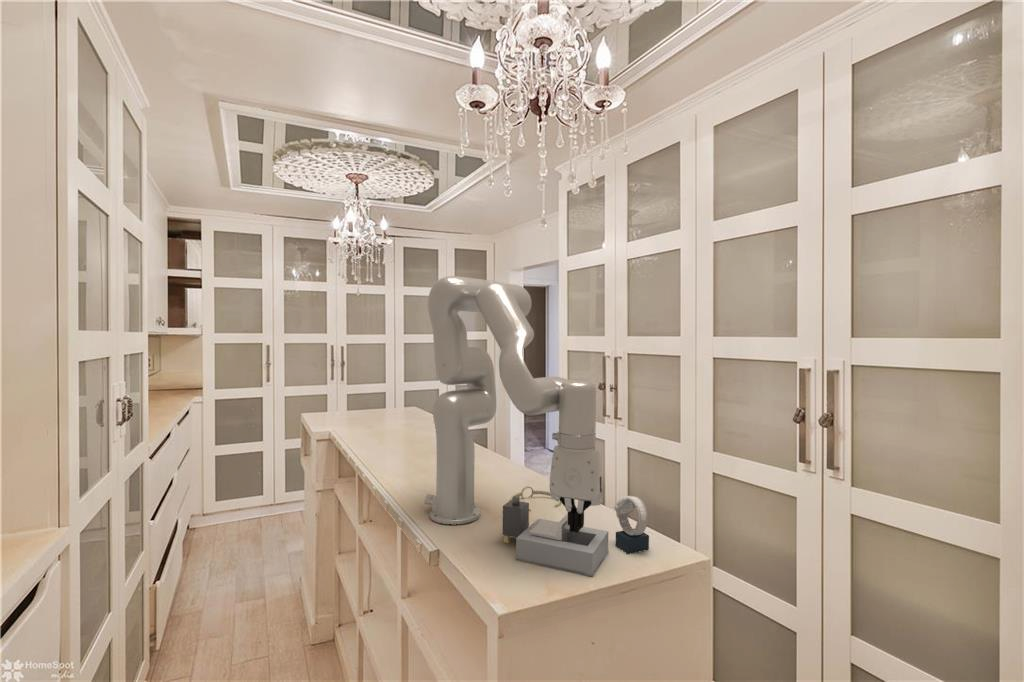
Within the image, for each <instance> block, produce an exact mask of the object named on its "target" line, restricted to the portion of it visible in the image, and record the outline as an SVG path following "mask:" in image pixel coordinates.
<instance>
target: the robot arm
mask: <svg viewBox="0 0 1024 682" xmlns="http://www.w3.org/2000/svg"><path fill="white" fill-rule="evenodd" d="M531 308H532V298H531V295H530V294H529V291H528V290H527V289H526V288H525V287H523V286H521V285H519V284H515V283H507V282H506V283H504V282H499V281H493V280H488V279H480V278H473V277H467V276H459V275H456V276H455V275H451V276H444V277H441V278H439V279H438V280H436V282H435V283H434V284H433V285H432V287H431V288H430V291H429V294H428V299H427V309H428V316H429V320H430V324H431V328H432V335H433V336H432V337H433V339H432V340H433V350H434V351H433V352H434V353H433V354H434V363H435V364H434V366H435V373H436V376H437V379H438V381H439V382H440V383H441V384H443V385H447V386H456V385H457V386H458V385H466V388H467V389H465V388H464V389H456V390H449V391H446V392H443V393H441V394H440V395H438V396H437V397H436V399H434V402H433V405H432V418H433V423H434V429H435V436H436V438H435V440H436V444H435V445H436V474H435V475H436V478H435V479H436V480H435V482H436V486H435V487H436V489H435V491H436V494H431V493H427V494H426V496H425V499H424V504H425V505H428V506H430V505H431V507H432V509H430V512H429V518H430V520H432V521H433V522H435V523H438V524H441V523H442V525H449V524H451V525H452V526H453V525H456V524H457V525H464V524H468V523H472V522H474V521H477V520H478V519H479V518H480V517H481V509H480V508H479V507H478V506H476V505H475V460H476V459H475V452H476V451H475V443H474V442H475V441H474V439H473V437H472V435H471V433H470V431H469V428H470V427H474V426H480V425H483V424H487V423H489V422H491V421H492V419H494V417H495V415H496V412H497V390H496V380H495V379H496V377H495V368H494V363H493V360H492V358H491V356H490V354H489V352H487V350H485V349H484V348H481V347H477V346H469V344H468V331H467V328H466V325H465V323H464V321H463V319H462V317H461V316H460V315H459V312H470V313H471V312H473V313H480V314H481V315H482V317H483V319H484V321H485V323H486V325H487V327H488V328H489V330H490V332H491V334H492V336H493V337H494V340H495V341H496V343H497V345H498V347H499V349H500V353H499V356H498V357H499V358H498V368H499V369H498V371H499V379H500V380H501V381H500V382H501V384H502V386H503V388H504V391H506V393H507V395H508V397H509V399H510V401H511V402H512V404H513V406H514V407H515V408H516V409H517V410H518V411H519V412H520V413H522V414H524V415H525V416H526V415H527V416H537V415H542V414H547V413H554V412H558V430H557V432H552V436H551V438H552V439H551V440H555V441H557V445H554V447H553V452H552V459H551V465H550V475H549V492H551V496H550V497H551V498H552V499H554V500H557V501H558V500H559V501H561V504H562V505H563V507H565V511H566V512H567V514H568V525H569V526H570V531H571V532H573V531H574V532H576V533H578V532H579V530H580V529H581V528H583V527H585V525H584V524H585V511H586V510H587V509H588V508H589V507H593V506H594V507H595V506H600V505H602V504H603V497H602V493H603V472H602V463H601V456H600V455H601V454H600V449H599V448H598V447H596V433H597V430H596V428H597V427H596V424H597V386H596V385H595V383H594V382H592V381H589V380H582V379H579V380H578V379H567V378H563V377H559V376H547V377H546V376H545V377H544V376H543V377H535V378H534V376H533V375H532V374H531V371H530V370H529V369H528V366H527V364H526V362H525V360H524V354H523V353H524V352H523V351H524V349H525V348H526V347H528V345H529V344H530V343H532V341H533V340H534V336H535V331H534V329H533V327H532V326H531V324H530V323H529V321H528V319H527V318H526V316H528V314H529V313H530V311H531ZM575 500H577V506H576V501H575ZM559 501H558V502H559ZM451 525H450V526H451Z"/></svg>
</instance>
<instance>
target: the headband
mask: <svg viewBox="0 0 1024 682" xmlns="http://www.w3.org/2000/svg"><path fill="white" fill-rule="evenodd" d="M526 489H531V494H530V495H529V496H528V497H531V498H532V497H533V496H534V495H543V496H547V497H548V496H549V497H551V492H550V491H547V490H538V489H533V488H532V487H531V486H530V485H527V486H524V487H523V488H522V489H521V491H520V492H517V493H516V492H515V494H513V495H512V496H510V498H509V501H510V500H512V497H513V496H519V497H520V498H522V499H523V498H525V497H524V496H523V493H524V491H525V490H526ZM557 501H558V502H557V503H555V504H554V508H558V507H560V506H561V504H562V503H561V501H559V500H557ZM529 511H530V512H531V508H530V507H529Z"/></svg>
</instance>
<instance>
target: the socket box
mask: <svg viewBox="0 0 1024 682" xmlns="http://www.w3.org/2000/svg"><path fill="white" fill-rule="evenodd" d="M542 520H544V521H549V522H555V523H559V522H560V521H553V520H548V519H541V518H538V519H536V520H535V521H534V522H533V523H531V524H530V525H529V527H528V528H527V529H526V530H525V531H524V532H523V533H521V534H520V535H519V536H518V537H517V538H516V539H515V541H516V542H515V548H516V549H515V560H516V561H519V562H522V563H527V564H533V565H538V566H541V567H545V568H549V569H556V570H560V571H564V572H568V573H573V574H578V575H581V576H582V575H583V576H586V577H591V578H593V577H594V575H595V574H596V572H597V570H598V569H599V568H600V565H602V562H603V561H604V560H605V558H606V556H607V555H608V553H609V530H606V529H605V530H604V529H598V528H593V527H587V526H583V528H581V529H580V530H579V532H578V533H576V532H574V531H573V532H571V531H570V532H569V533H568V534H567V535H566V536H565V538H564V539H563V540H562V541H561V540H556V539H551V538H546V537H540V536H535V535H530V531H531V530H532V529H533V528H534V527H535V526H536V525H537V524H539V523H540V522H541V521H542Z"/></svg>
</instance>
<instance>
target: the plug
mask: <svg viewBox="0 0 1024 682" xmlns="http://www.w3.org/2000/svg"><path fill="white" fill-rule="evenodd" d="M512 496H513V495H512ZM512 496H511V497H512ZM520 498H521V496H520V497H519V496H513V497H512V500H510V499H509V501H508V502H506V503H504V504H503V505H502V536H503V543H505V544H509V543H510V542H511V537H513V538H515V540H516V538H517V537H518V536H519V535H520V534H521V533H523V532H524V531H525V530H526V529H527V528H528V527H529V526H530V523H529V522H530V519H529V518H530V512H529V508H530V503H529V502H527V501H521V500H520Z"/></svg>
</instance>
